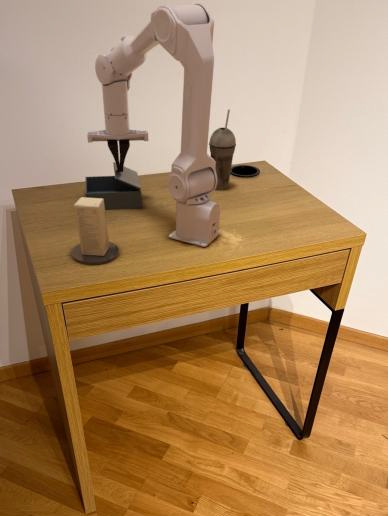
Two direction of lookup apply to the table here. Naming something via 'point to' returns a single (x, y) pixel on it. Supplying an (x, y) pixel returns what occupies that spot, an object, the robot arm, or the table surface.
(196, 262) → the table surface
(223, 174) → the beverage cup
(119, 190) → the carton
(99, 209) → the box
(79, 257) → the coaster
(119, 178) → the flap
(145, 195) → the table surface
